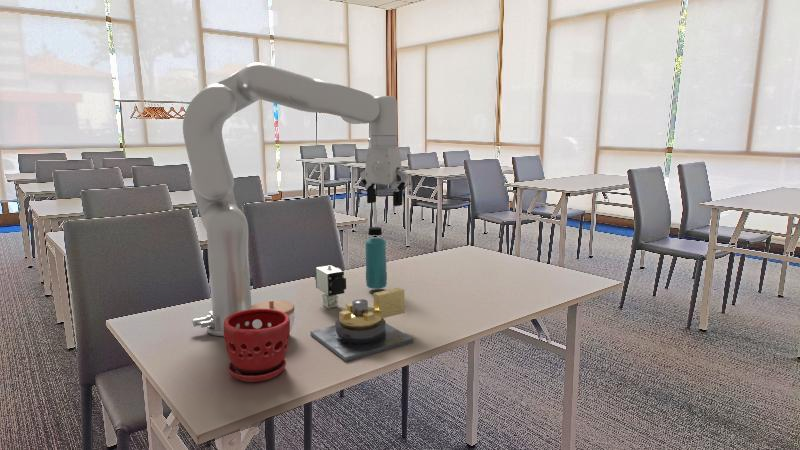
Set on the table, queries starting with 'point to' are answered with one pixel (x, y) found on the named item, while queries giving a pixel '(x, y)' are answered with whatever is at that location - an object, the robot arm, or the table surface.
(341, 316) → the gold slotted fixture
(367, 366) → the table surface
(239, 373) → the plant pot
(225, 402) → the table surface
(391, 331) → the housing
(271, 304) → the lidded jar
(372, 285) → the beverage bottle
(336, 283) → the pneumatic valve
